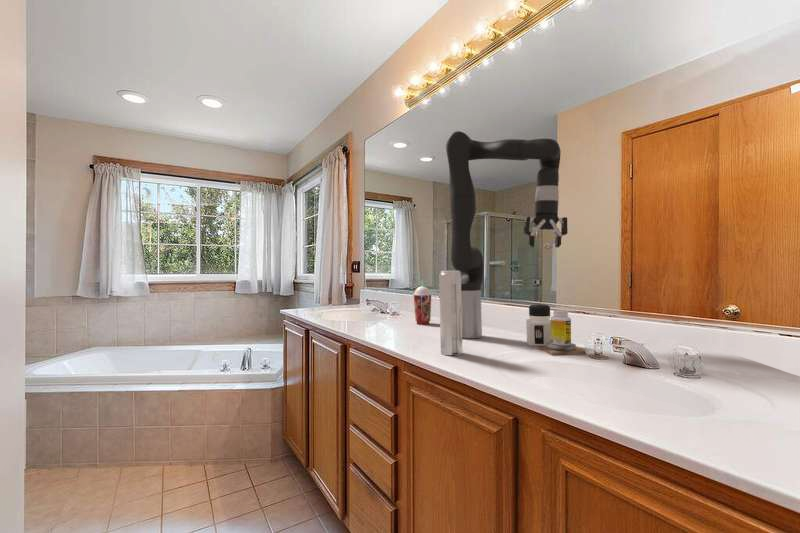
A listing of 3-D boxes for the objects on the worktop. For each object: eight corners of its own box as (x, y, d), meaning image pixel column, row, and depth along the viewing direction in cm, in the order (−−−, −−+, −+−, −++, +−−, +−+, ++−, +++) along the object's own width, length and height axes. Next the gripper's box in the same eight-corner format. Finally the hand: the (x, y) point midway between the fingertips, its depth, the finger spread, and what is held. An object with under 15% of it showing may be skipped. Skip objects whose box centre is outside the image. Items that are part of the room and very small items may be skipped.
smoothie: (432, 324, 176) (431, 280, 176) (414, 325, 176) (413, 280, 176) (431, 322, 184) (430, 279, 184) (413, 322, 185) (412, 280, 185)
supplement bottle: (568, 347, 113) (567, 312, 113) (548, 344, 117) (548, 310, 117) (573, 343, 118) (573, 309, 118) (554, 341, 121) (554, 308, 121)
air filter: (464, 351, 119) (462, 270, 119) (460, 356, 113) (458, 270, 113) (443, 350, 122) (441, 270, 122) (438, 355, 115) (436, 270, 115)
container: (554, 346, 124) (553, 305, 124) (529, 346, 126) (528, 305, 126) (550, 341, 132) (549, 303, 132) (526, 341, 133) (525, 303, 133)
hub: (551, 355, 112) (551, 348, 112) (538, 348, 122) (538, 341, 122) (586, 354, 113) (585, 347, 113) (569, 347, 123) (569, 340, 123)
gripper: (563, 201, 138) (561, 247, 139) (522, 200, 138) (520, 246, 140) (572, 199, 130) (569, 248, 131) (528, 198, 131) (526, 247, 132)
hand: (544, 247), depth 136 cm, fingers open, 8 cm apart
